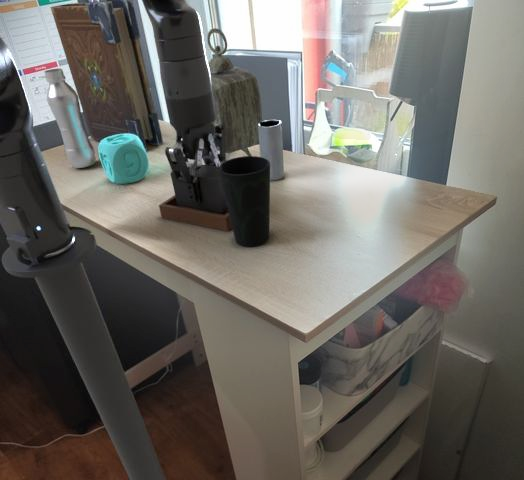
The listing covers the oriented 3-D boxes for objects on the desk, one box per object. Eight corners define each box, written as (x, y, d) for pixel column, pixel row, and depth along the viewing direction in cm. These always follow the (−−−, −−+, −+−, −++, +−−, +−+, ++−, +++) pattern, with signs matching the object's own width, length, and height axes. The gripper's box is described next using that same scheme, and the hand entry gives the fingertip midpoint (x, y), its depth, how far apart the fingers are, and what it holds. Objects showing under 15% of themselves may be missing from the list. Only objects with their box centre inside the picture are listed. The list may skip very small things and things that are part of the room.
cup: (239, 255, 74) (229, 179, 66) (222, 235, 79) (211, 163, 71) (283, 242, 76) (278, 167, 68) (264, 223, 81) (257, 152, 73)
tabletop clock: (266, 165, 102) (254, 27, 86) (230, 177, 99) (211, 35, 82) (231, 150, 112) (215, 23, 95) (198, 160, 108) (175, 30, 92)
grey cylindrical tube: (259, 180, 96) (254, 126, 89) (266, 171, 99) (262, 119, 93) (280, 181, 95) (276, 127, 88) (287, 172, 98) (284, 119, 91)
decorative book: (163, 143, 120) (132, -3, 100) (141, 152, 116) (104, 2, 96) (108, 132, 132) (70, -1, 112) (87, 140, 128) (44, 4, 109)
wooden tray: (227, 231, 80) (225, 217, 79) (161, 218, 87) (158, 205, 85) (256, 208, 86) (255, 194, 85) (192, 197, 93) (190, 184, 91)
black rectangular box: (238, 201, 85) (234, 168, 81) (222, 213, 81) (217, 179, 77) (194, 194, 89) (187, 162, 85) (177, 205, 86) (170, 172, 82)
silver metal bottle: (77, 161, 115) (45, 68, 102) (103, 160, 114) (74, 66, 101) (65, 171, 110) (30, 74, 97) (92, 170, 109) (60, 72, 96)
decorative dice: (138, 167, 108) (129, 130, 103) (152, 176, 103) (143, 138, 98) (105, 177, 105) (93, 140, 100) (118, 187, 100) (106, 148, 95)
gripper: (178, 104, 67) (199, 216, 78) (233, 79, 76) (245, 183, 87) (139, 102, 70) (164, 209, 81) (196, 78, 79) (212, 178, 90)
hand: (206, 195), depth 84 cm, fingers closed on black rectangular box, 5 cm apart
